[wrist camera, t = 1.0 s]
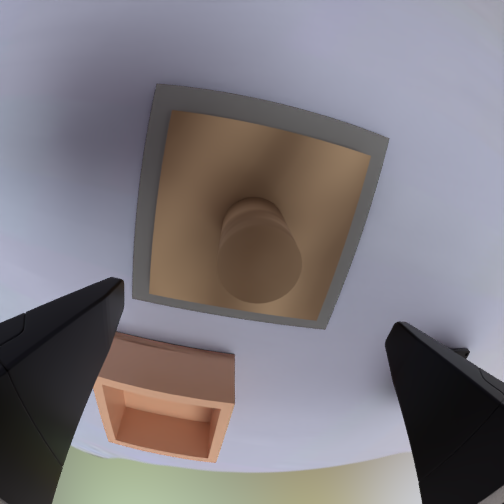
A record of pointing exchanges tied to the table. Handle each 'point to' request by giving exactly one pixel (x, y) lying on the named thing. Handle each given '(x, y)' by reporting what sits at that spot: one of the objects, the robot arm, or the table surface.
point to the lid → (251, 215)
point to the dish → (166, 397)
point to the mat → (262, 115)
